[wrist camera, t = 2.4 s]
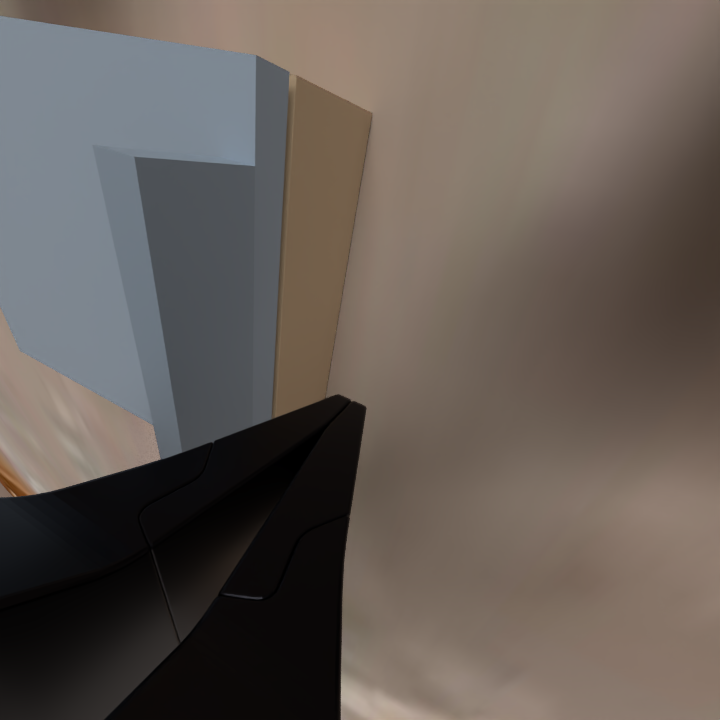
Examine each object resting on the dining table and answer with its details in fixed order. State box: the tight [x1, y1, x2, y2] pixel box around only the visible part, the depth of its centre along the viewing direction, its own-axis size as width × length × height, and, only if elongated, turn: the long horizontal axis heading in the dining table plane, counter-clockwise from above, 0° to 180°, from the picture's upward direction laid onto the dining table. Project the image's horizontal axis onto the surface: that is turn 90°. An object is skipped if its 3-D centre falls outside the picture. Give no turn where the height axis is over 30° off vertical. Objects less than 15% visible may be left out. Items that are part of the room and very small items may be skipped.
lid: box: [0, 16, 290, 459], centre depth 12 cm, size 16×14×4 cm
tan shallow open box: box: [271, 74, 372, 419], centre depth 16 cm, size 16×14×5 cm
